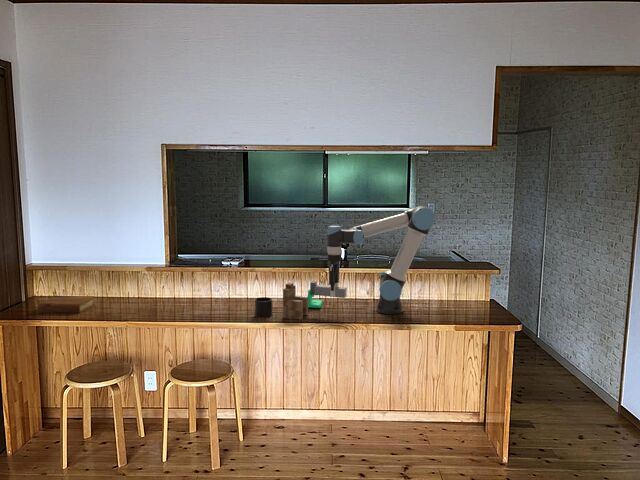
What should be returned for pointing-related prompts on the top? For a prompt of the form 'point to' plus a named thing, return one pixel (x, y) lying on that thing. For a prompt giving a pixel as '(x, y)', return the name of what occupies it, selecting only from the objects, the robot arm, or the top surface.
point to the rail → (326, 290)
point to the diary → (66, 304)
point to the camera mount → (313, 301)
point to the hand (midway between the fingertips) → (334, 295)
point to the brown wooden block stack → (294, 303)
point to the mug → (263, 307)
